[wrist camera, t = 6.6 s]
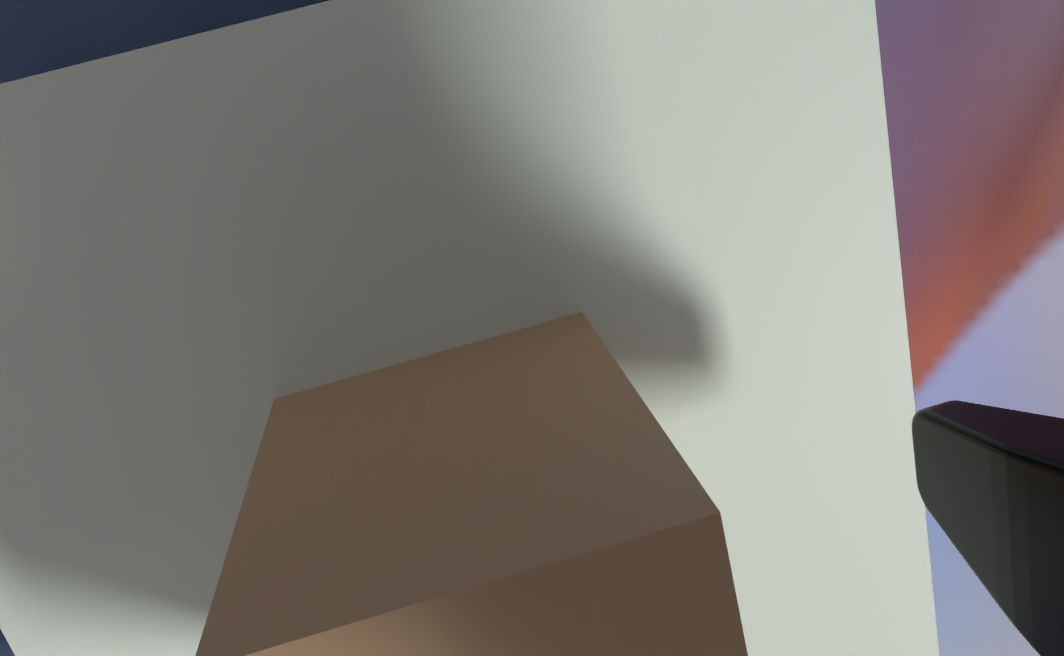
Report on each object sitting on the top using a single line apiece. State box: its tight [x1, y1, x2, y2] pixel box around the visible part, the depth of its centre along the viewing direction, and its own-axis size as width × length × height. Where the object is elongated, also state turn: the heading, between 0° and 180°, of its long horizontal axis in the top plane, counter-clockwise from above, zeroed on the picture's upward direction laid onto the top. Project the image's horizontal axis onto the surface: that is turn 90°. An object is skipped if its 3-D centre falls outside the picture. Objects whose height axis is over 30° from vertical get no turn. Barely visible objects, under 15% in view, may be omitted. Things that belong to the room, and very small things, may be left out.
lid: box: [0, 0, 939, 656], centre depth 9 cm, size 11×11×5 cm
